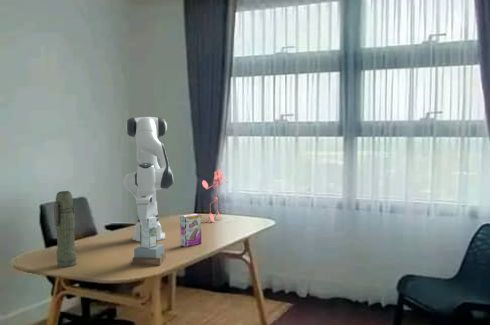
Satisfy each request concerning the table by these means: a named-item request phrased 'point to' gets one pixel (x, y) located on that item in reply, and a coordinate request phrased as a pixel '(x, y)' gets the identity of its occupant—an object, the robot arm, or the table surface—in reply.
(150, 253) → the tower top
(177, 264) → the table surface
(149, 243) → the syrup box
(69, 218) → the thermos
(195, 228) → the candy bar box
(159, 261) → the tower bottom
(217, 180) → the figurine
